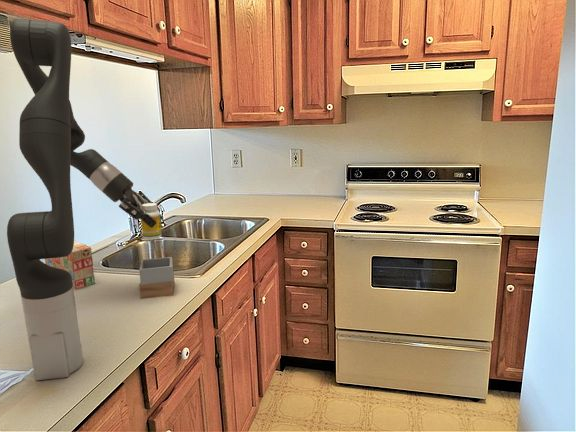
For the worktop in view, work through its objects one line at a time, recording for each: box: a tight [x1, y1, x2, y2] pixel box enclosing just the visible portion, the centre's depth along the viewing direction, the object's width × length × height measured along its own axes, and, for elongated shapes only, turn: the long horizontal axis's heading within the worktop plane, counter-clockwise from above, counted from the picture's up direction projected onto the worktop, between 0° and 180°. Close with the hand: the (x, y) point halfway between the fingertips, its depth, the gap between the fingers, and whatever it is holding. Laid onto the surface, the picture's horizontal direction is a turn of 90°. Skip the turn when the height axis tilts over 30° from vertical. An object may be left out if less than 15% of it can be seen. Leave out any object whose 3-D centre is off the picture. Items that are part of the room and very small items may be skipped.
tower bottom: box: [139, 270, 175, 300], centre depth 129 cm, size 9×9×4 cm
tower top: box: [139, 256, 174, 285], centre depth 128 cm, size 9×9×4 cm
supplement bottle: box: [140, 202, 162, 240], centre depth 124 cm, size 5×5×10 cm
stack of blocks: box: [44, 240, 96, 291], centre depth 138 cm, size 21×6×12 cm, turn 50°
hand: (157, 222), depth 124 cm, fingers closed on supplement bottle, 5 cm apart
